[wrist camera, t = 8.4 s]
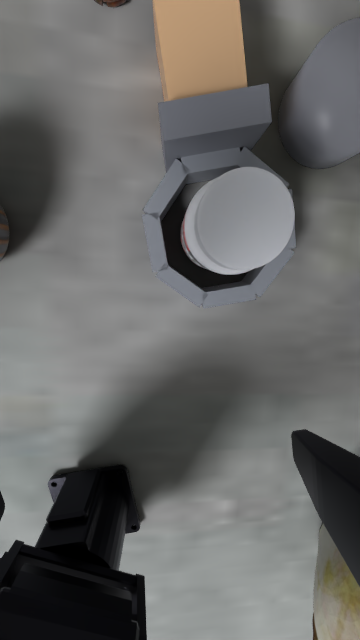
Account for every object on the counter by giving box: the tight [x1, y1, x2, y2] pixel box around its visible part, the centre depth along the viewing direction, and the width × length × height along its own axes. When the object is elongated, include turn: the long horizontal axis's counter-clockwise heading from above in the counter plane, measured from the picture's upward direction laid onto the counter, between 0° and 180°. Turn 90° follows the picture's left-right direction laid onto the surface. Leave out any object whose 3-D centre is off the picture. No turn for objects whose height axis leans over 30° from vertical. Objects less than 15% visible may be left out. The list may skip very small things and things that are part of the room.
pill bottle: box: [180, 167, 295, 275], centre depth 15 cm, size 5×5×8 cm
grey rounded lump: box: [278, 17, 360, 169], centre depth 16 cm, size 6×6×4 cm
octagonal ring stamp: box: [142, 0, 296, 308], centre depth 16 cm, size 16×9×5 cm, turn 9°
